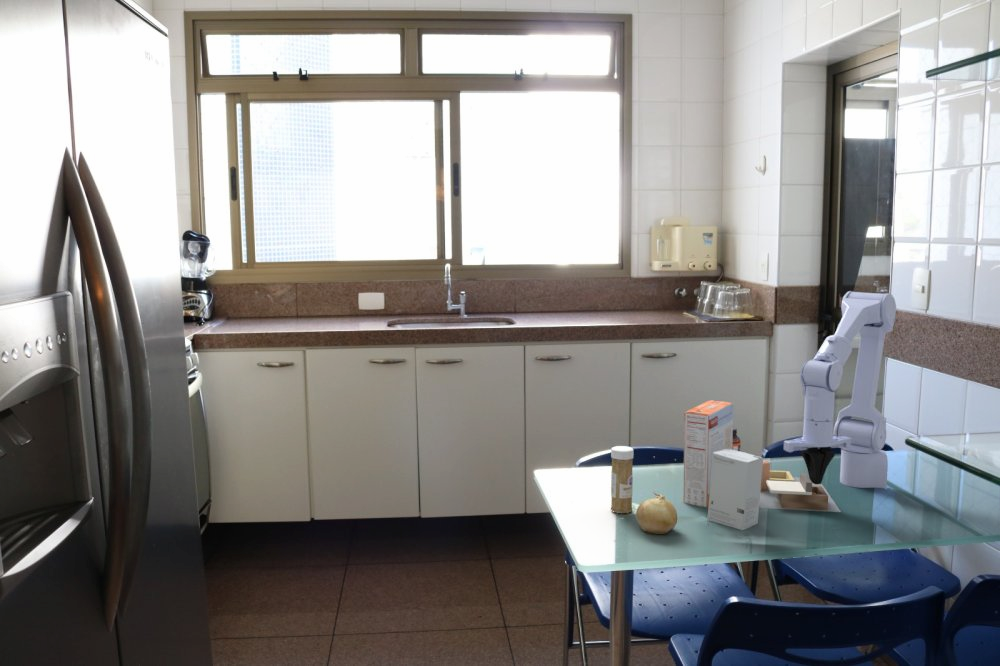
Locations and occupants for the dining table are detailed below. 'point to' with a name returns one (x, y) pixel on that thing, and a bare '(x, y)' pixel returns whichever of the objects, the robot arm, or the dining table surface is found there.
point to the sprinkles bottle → (621, 479)
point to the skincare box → (735, 488)
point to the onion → (656, 515)
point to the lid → (791, 486)
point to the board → (770, 498)
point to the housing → (805, 500)
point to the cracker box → (704, 446)
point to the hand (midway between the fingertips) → (815, 482)
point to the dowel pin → (765, 475)
